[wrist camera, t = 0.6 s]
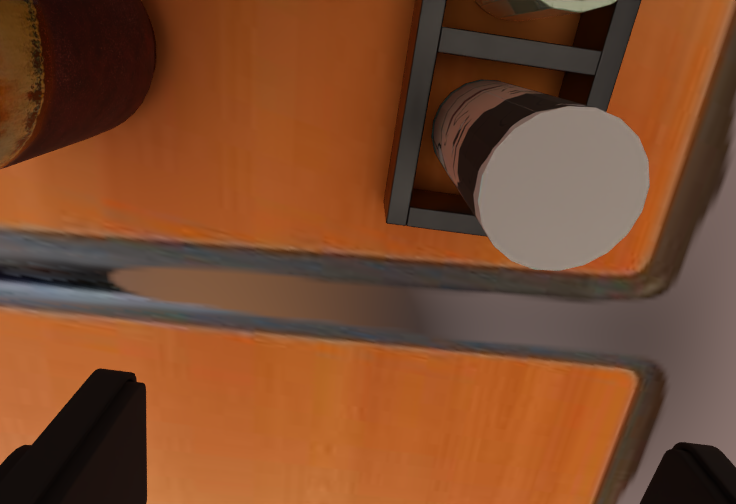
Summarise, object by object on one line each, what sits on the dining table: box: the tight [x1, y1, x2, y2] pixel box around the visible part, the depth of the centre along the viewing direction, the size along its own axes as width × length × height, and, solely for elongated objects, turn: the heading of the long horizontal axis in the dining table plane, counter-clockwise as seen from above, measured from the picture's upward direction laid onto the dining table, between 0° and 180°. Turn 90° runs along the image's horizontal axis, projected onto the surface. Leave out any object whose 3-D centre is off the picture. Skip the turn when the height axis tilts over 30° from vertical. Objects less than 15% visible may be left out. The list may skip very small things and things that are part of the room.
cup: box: [431, 80, 649, 271], centre depth 27 cm, size 7×7×15 cm
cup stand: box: [384, 0, 641, 237], centre depth 30 cm, size 12×22×4 cm, turn 172°
